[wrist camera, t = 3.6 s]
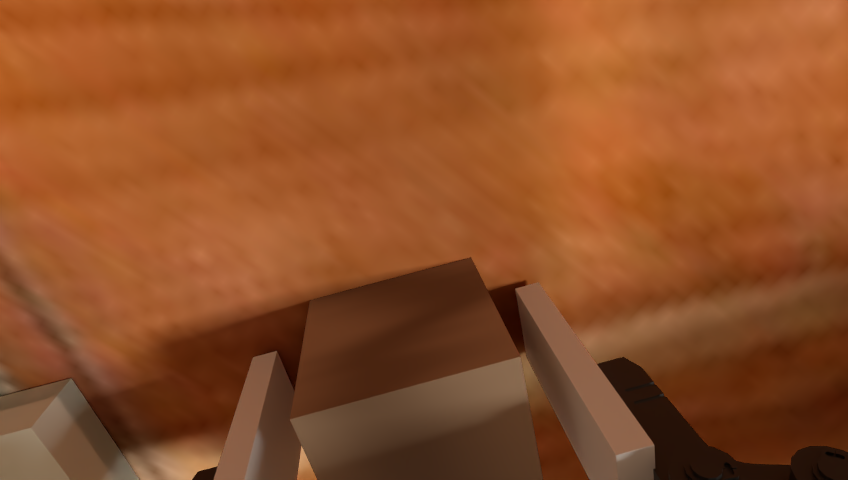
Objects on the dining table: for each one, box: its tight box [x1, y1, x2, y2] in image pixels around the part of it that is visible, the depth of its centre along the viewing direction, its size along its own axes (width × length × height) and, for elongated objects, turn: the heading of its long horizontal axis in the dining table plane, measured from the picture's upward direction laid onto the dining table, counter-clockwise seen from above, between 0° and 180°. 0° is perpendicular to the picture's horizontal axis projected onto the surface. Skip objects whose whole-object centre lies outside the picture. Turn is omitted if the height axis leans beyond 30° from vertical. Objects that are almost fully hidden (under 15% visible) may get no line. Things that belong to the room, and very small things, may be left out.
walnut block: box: [290, 258, 543, 480], centre depth 14 cm, size 5×5×5 cm
